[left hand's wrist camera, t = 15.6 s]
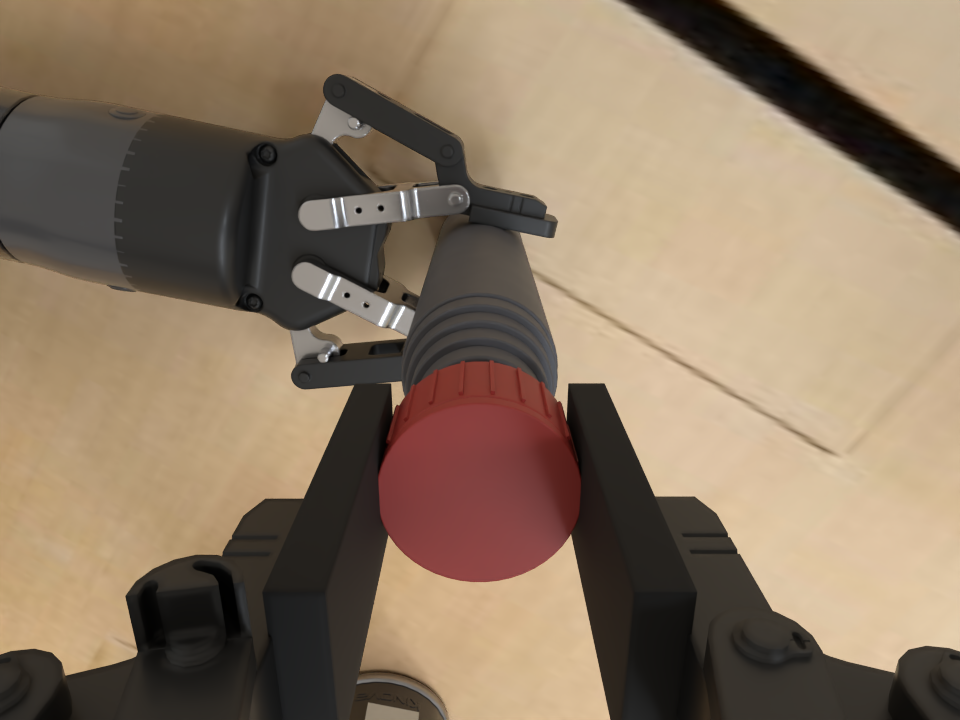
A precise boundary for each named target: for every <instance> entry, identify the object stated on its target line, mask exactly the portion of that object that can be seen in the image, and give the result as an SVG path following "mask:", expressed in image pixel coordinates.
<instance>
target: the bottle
mask: <svg viewBox="0 0 960 720" xmlns="http://www.w3.org/2000/svg"><path fill="white" fill-rule="evenodd" d="M468 221H469V216H468V215H463V214H456V215H449V216H448V217H447V218H446V220H445V222H444V223H443V225H442V228H441V231H440V234H439V237H438V240H437V244H436V247H435V250H434V253H433V256H432V259H431V263H430V266H429V269H428V272H427V275H426V279H425V282H424V285H423V288H422V291H421V295H420V298H419V301H418V304H417V307H416V311H415V314H414V317H413V320H412V323H411V327H410V330H409V333H408V336H407V339H406V343H405V346H404V350H403V355H402V386H403V392H404V395H405V397H406V395H407V394H408V393H409V392H410V389H411V386H412V385H413V384H414V385H415V386H416V385H417V384H418V383H419V382H420V381H422V380H423V379H424V378H426V377H427V376H429V375H431V374H433V372H434V370H436V369H437V370H441V369H443V368H446V367H448V366H452V365H456V364H460V363H461V361H465V363H466V362H489V361H490V360H491V361H494V363H500V364H503V365H507V366H511V367H513V368H516V369H517V367H519V368H521V371H523V372H525V373H527V374H528V375H530V376H532V377H533V378H535V379H536V380H537V381H539V382H540V383H541V381H542V382H543V383H545V387H546V388H547V389H548V390H549V391H550V393H551V394H552V395H553V396H555V392H556V388H557V378H558V375H557V367H558V364H557V354H556V349H555V345H554V342H553V338H552V335H551V332H550V329H549V326H548V322H547V319H546V316H545V313H544V310H543V306H542V303H541V300H540V297H539V294H538V290H537V287H536V284H535V281H534V277H533V274H532V271H531V268H530V265H529V261H528V258H527V255H526V252H525V249H524V245H523V242H522V239H521V236H520V233H519V232H517V231H512V230H507V229H502V228H498V227H494V226H489V225H483V224H478V223H473V222H468Z"/></svg>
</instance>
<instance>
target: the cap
mask: <svg viewBox="0 0 960 720" xmlns="http://www.w3.org/2000/svg"><path fill="white" fill-rule="evenodd" d="M386 443H387V444H386V448H385V451H384V455H383V459H382V462H381V466H380V470H379V474H378V483H379V499H380V515H381V520H382V523H383V525H384V527H385V529H386V531H387V533H388V534H389V536H390V538H391V539H392V540H393V542H394V543H395V544H396V546H397V547H398V548H399V549H400V550H401V551H402V552H403V553H404V554H405V555H406V556H408V557H409V558H410V559H411V560H413V561H414V562H415V563H417V564H418V565H420V566H422V567H423V568H425V569H427V570H429V571H431V572H433V573H435V574H438V575H441V576H444V577H447V578H451V579H456V580H460V581H469V582H490V581H499V580H503V579H508V578H512V577H515V576H518V575H521V574H524V573H526V572H528V571H530V570H532V569H534V568H536V567H537V566H539V565H541V564H542V563H544V562H545V561H547V560H548V559H549V558H550V557H552V556H553V555H554V554H555V553H556V552H557V551H558V550H559V549H560V548H561V547H562V546H563V544H564V543H565V542H566V540H567V539H568V538H569V536H570V534H571V533H572V531H573V529H574V527H575V525H576V523H577V520H578V517H579V509H580V493H581V474H580V470H579V466H578V458H577V455H576V451H575V447H574V444H573V440H572V436H571V433H570V429H569V426H568V425H567V421H566V418H565V414H564V410H563V407H562V404H561V402H560V401H559V402H557V400H556V399H555V398H554V396H553V395H552V394H551V393H550V391H549V390H548V389H547V388H546V387H545V383H543V382H542V381H541V383H540V382H539V381H537V380H536V379H535V378H533V377H532V376H530V375H528V374H527V373H525V372H523V371H521V368H519V367H517V369H516V368H513V367H511V366H507V365H503V364H500V363H494V361H491V360H490V361H489V362H466V363H465V361H461V363H460V364H456V365H452V366H448V367H446V368H443V369H441V370H437V369H436V370H434V372H433V374H431V375H429V376H427V377H426V378H424V379H423V380H422V381H420V382H419V383H418V384H417V385H416V386H415V385H414V384H413V385H412V386H411V389H410V392H409V393H408V394H407V395H406V397H405V398H404V399H403V401H402V402H401V404H400V406H399V405H396V407H395V411H394V414H393V418H392V421H391V425H390V428H389V432H388V435H387V439H386Z"/></svg>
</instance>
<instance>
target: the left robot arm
mask: <svg viewBox="0 0 960 720" xmlns="http://www.w3.org/2000/svg"><path fill="white" fill-rule="evenodd" d="M392 418H393V413H392V392H391V384H355V385H354V387H353V390H352V392H351V394H350V396H349V398H348V401H347V403H346V405H345V407H344V410H343V412H342V414H341V416H340V419H339V421H338V423H337V425H336V428H335V430H334V432H333V434H332V437H331V439H330V441H329V443H328V446H327V448H326V450H325V452H324V455H323V457H322V459H321V461H320V463H319V466H318V468H317V470H316V472H315V475H314V477H313V479H312V481H311V484H310V486H309V488H308V490H307V493H306V495H305V497H304V499H264V500H263V501H262V502H261V503H259V504H258V505H257V506H255V507H254V508H253V509H252V510H250V511H249V512H248V513H246V514H245V515H244V516H243V518H242V519H241V521H240V523H239V525H238V526H237V528H236V530H235V532H234V533H233V535H232V540H229V542H228V544H227V545H226V547H225V549H224V551H223V555H222V556H219V555H194V556H189V557H184V558H180V559H175V560H173V561H170V562H168V563H166V564H163V565H161V566H159V567H156V568H154V569H152V570H151V571H150V572H148V573H147V574H146V575H144V576H143V577H142V578H140V579H139V580H137V581H136V582H135V584H134V585H133V586H132V588H131V589H130V590H129V592H128V593H127V595H126V601H127V605H128V610H129V614H130V619H131V623H132V628H133V632H134V636H135V641H136V645H137V650H138V653H137V656H136V657H134V658H132V659H129V660H126V661H123V662H119V663H116V664H113V665H109V666H105V667H100V668H96V669H92V670H88V671H84V672H79V673H75V674H71V675H67V676H65V673H64V670H63V666H62V662H61V661H60V660H59V659H58V658H57V657H56V656H55V655H54V654H52V653H51V652H46V651H42V650H37V649H28V650H18V651H10V652H7V653H4V654H1V655H0V720H349V718H350V713H351V708H352V703H353V699H354V694H355V689H356V685H357V680H358V675H359V670H360V666H361V661H362V656H363V652H364V647H365V642H366V637H367V633H368V628H369V623H370V619H371V614H372V609H373V604H374V600H375V595H376V590H377V586H378V581H379V576H380V571H381V567H382V562H383V557H384V553H385V548H386V543H387V538H388V533H387V531H386V529H385V527H384V525H383V523H382V520H381V515H380V499H379V483H378V474H379V470H380V466H381V462H382V459H383V455H384V451H385V448H386V444H387V443H386V439H387V435H388V432H389V428H390V425H391V421H392ZM567 425H568V426H569V429H570V433H571V436H572V440H573V444H574V447H575V451H576V455H577V458H578V466H579V470H580V474H581V493H580V509H579V517H578V520H577V523H576V525H575V527H574V529H573V531H572V533H571V536H572V540H573V545H574V550H575V554H576V559H577V564H578V569H579V573H580V578H581V583H582V587H583V592H584V597H585V602H586V606H587V611H588V616H589V620H590V625H591V630H592V635H593V639H594V644H595V649H596V653H597V658H598V663H599V668H600V672H601V677H602V682H603V686H604V691H605V696H606V701H607V705H608V710H609V715H610V719H611V720H960V652H959V651H956V650H953V649H950V648H942V647H932V646H923V647H919V648H914V649H910V650H908V651H907V652H906V653H905V654H904V655H903V656H902V657H901V658H900V659H899V660H898V664H897V668H896V671H895V673H893V672H888V671H884V670H880V669H876V668H871V667H867V666H863V665H859V664H854V663H850V662H846V661H843V660H840V659H837V658H833V657H830V656H827V655H825V654H823V652H822V650H821V648H820V647H819V645H818V644H817V642H816V641H815V639H814V637H813V636H812V635H811V634H810V633H809V632H807V631H806V630H805V629H804V628H803V627H801V626H800V625H799V624H798V623H797V622H795V621H793V620H791V619H789V618H787V617H785V616H783V615H781V614H779V613H777V612H774V611H772V609H771V607H770V606H769V604H768V602H767V600H766V599H765V597H764V595H763V593H762V592H761V590H760V588H759V587H758V585H757V583H756V581H755V580H754V578H753V576H752V574H751V573H750V571H749V569H748V568H747V566H746V564H745V562H744V561H743V559H742V557H741V555H740V554H738V553H737V548H736V547H735V545H734V543H733V542H732V540H731V538H730V537H728V533H727V531H726V529H725V528H724V526H723V524H722V523H721V521H720V519H719V517H718V516H717V514H716V513H715V512H714V511H712V510H711V509H710V508H708V507H707V506H706V505H705V504H703V503H702V502H701V501H699V500H698V499H697V498H696V497H655V496H654V494H653V491H652V489H651V487H650V485H649V482H648V480H647V478H646V476H645V473H644V471H643V469H642V467H641V464H640V462H639V460H638V458H637V455H636V453H635V451H634V449H633V447H632V444H631V442H630V440H629V438H628V435H627V433H626V431H625V429H624V426H623V424H622V422H621V420H620V417H619V415H618V413H617V411H616V408H615V406H614V404H613V402H612V399H611V397H610V395H609V393H608V390H607V388H606V386H605V384H568V404H567Z"/></svg>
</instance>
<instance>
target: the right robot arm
mask: <svg viewBox="0 0 960 720" xmlns="http://www.w3.org/2000/svg"><path fill="white" fill-rule="evenodd" d="M323 93H324V96H325V98H326V101H325V103H324V105H323V108H322V110H321V112H320V115H319V117H318V119H317V122H316V124H315V126H314V129H313V131H312V133H309V134H303V135H299V136H297V137H294V138H291V139H282V138H275V137H270V136H265V135H261V134H256V133H251V132H246V131H241V130H237V129H232V128H227V127H222V126H218V125H213V124H208V123H203V122H199V121H194V120H189V119H184V118H180V117H175V116H170V115H165V114H160V113H155V112H150V111H146V110H141V109H137V108H132V107H127V106H122V105H118V104H113V103H107V102H101V101H91V100H78V99H63V98H55V97H49V96H44V95H39V94H34V93H29V92H25V91H20V90H15V89H10V88H6V87H1V86H0V259H5V260H10V261H15V262H20V263H26V264H30V265H34V266H39V267H42V268H45V269H48V270H51V271H54V272H57V273H60V274H63V275H66V276H69V277H73V278H76V279H80V280H84V281H89V282H94V283H99V284H104V285H107V286H109V287H110V288H112V289H116V290H121V291H128V292H136V291H140V292H145V293H151V294H156V295H161V296H167V297H172V298H177V299H182V300H187V301H192V302H198V303H203V304H208V305H213V306H219V307H224V308H229V309H234V310H240V311H248V312H256V313H260V314H262V315H265V316H267V317H269V318H270V319H272V320H273V321H275V322H276V323H277V324H278V325H280V326H281V327H283V328H285V329H288V330H290V334H291V339H292V344H293V349H294V354H295V359H296V366H295V368H294V369H293V371H292V373H291V378H292V381H293V383H294V384H295V385H296V386H297V387H299V388H301V389H316V388H328V387H340V386H351V385H355V384H375V383H386V382H398V381H402V355H403V350H404V346H405V343H406V339H397V340H385V341H374V342H362V343H351V344H343V343H342V341H341V339H340V338H339V337H337V336H336V335H333V334H325V333H322V332H320V331H319V330H318V329H317V328H316V326H315V325H317V324H319V323H321V322H324V321H326V320H328V319H330V318H332V317H335V316H337V315H339V314H341V313H344V312H346V311H349V312H351V313H353V314H355V315H357V316H359V317H361V318H363V319H365V320H367V321H369V322H371V323H373V324H375V325H377V326H379V327H382V328H391V329H393V330H395V331H397V332H399V333H401V334H403V335H405V336H408V333H409V330H410V327H411V323H412V320H413V317H414V314H415V311H416V307H417V304H418V301H419V298H420V296H418V295H416V294H414V293H412V292H410V291H409V290H407V289H406V287H405V286H403V285H402V284H401V283H399V282H397V281H395V280H393V279H391V278H389V277H387V276H385V275H384V269H385V256H384V243H385V241H386V239H387V236H388V234H389V232H390V230H391V224H392V222H403V221H409V220H413V219H417V218H425V217H436V216H446V215H456V214H463V215H468V216H469V221H468V222H473V223H478V224H483V225H489V226H494V227H498V228H502V229H507V230H512V231H517V232H522V233H527V234H532V235H537V236H542V237H547V238H554V236H555V231H556V227H557V223H558V221H557V219H556V218H555V217H554V216H552V215H549V214H545V213H546V209H547V206H546V205H545V203H544V202H543V201H541V200H540V199H538V198H537V197H535V196H534V195H529V194H524V193H519V192H514V191H510V190H505V189H500V188H495V187H490V186H486V185H481V184H478V183H476V182H475V181H473V180H472V179H471V177H470V176H469V174H468V171H467V166H466V159H465V153H464V144H463V142H462V140H461V138H460V137H458V136H457V135H455V134H454V133H452V132H450V131H448V130H446V129H445V128H443V127H441V126H439V125H438V124H436V123H434V122H432V121H430V120H429V119H427V118H425V117H423V116H422V115H420V114H418V113H416V112H414V111H413V110H411V109H409V108H407V107H406V106H404V105H402V104H400V103H399V102H397V101H395V100H393V99H391V98H390V97H388V96H386V95H384V94H383V93H381V92H379V91H377V90H375V89H374V88H372V87H370V86H368V85H367V84H365V83H363V82H361V81H360V80H358V79H356V78H354V77H350V76H346V75H341V74H334V75H332V76H330V77H328V78H327V80H326V81H325V83H324V86H323ZM374 129H376V130H378V131H380V132H381V133H383V134H385V135H387V136H389V137H390V138H392V139H394V140H396V141H398V142H399V143H401V144H403V145H405V146H407V147H408V148H410V149H412V150H414V151H416V152H418V153H419V154H421V155H423V156H425V157H427V158H428V159H430V160H432V161H434V162H435V164H436V170H437V176H438V180H437V181H427V182H406V183H396V184H386V185H375V184H374V183H373V182H372V181H371V180H370V178H369V177H368V176H367V175H366V174H365V173H364V172H363V171H362V170H361V169H360V168H359V167H358V166H357V165H356V164H355V163H354V162H353V160H352V159H351V158H350V157H349V156H348V155H347V154H346V153H345V152H344V151H343V150H342V149H341V148H340V147H339V146H338V145H337V144H336V143H337V141H338V139H339V138H341V137H342V136H344V135H347V136H351V137H353V138H362V137H366V136H368V135H369V134H371V133H372V131H373V130H374ZM378 287H379V288H378ZM365 302H367V303H369V305H367V304H366V303H365ZM349 720H449V718H448V714H447V711H446V709H445V707H444V705H443V703H442V702H441V700H440V699H439V698H438V697H437V695H436V694H435V693H434V692H432V691H431V690H430V689H429V688H427V687H426V686H424V685H423V684H421V683H419V682H418V681H415V680H413V679H411V678H408V677H405V676H402V675H398V674H392V673H381V672H375V673H364V674H359V675H358V680H357V685H356V689H355V694H354V699H353V703H352V708H351V713H350V718H349Z"/></svg>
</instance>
